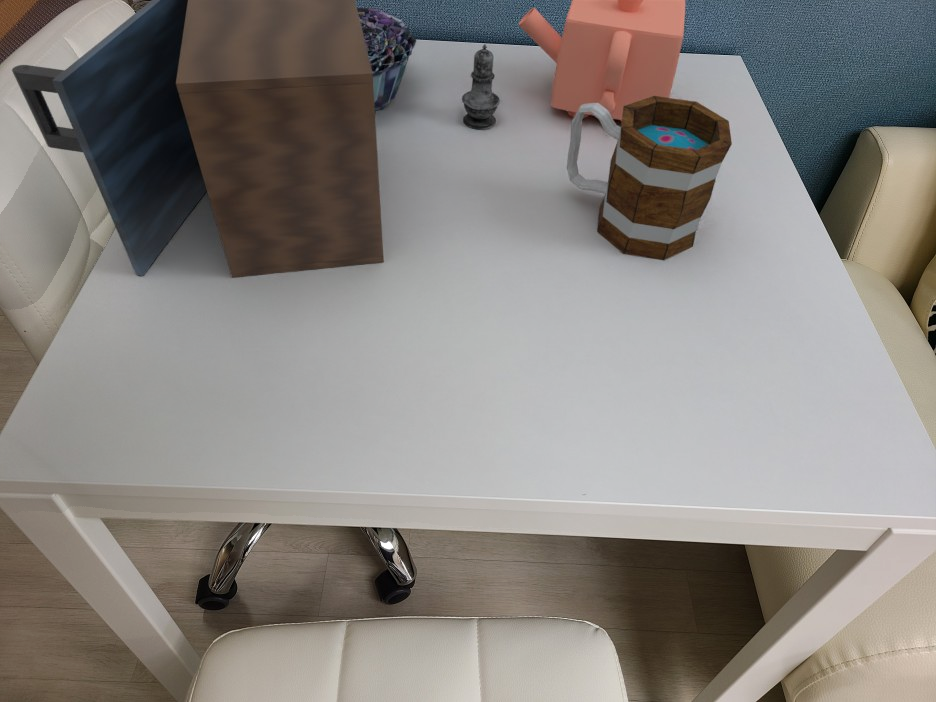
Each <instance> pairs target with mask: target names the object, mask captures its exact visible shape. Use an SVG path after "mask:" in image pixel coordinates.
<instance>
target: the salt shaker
mask: <svg viewBox="0 0 936 702" xmlns="http://www.w3.org/2000/svg"><path fill="white" fill-rule="evenodd" d="M487 48H488V46H487V45H486V44H485V43H484V44H483V46H482V47H481V49H479V50H477V51H476V52H475V53H474V55H473V71H472V72H471V73H470V78H471V79H472V82H471V89H470V91H469V90H468V91H466V92H465V93H464V94H463V95H462V96H461V102H462V103H463V107H464V111H465V112H466V114H464V115H463V117H462V122H463V124H464V125H465V126H466V127H467V128H470V129H473V130H477V131H478V130H479V131H483V130H484V131H485V130H490V129H492V128H493V127H495V126H496V124H497V118H496V116H494V114H495V113H496V111H497V110H498V106H499V105H500V103H501V99H500V97H499V96H498V94H496V93H494V92H493V80H494V79H495V76H496V75H495V73H494V72H493V70H494V58H495V57H494V53H493V52H492V51H491V50H489V49H487Z"/></svg>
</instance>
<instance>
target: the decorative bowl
mask: <svg viewBox="0 0 936 702" xmlns="http://www.w3.org/2000/svg"><path fill="white" fill-rule="evenodd" d="M357 11H358V15H359V19H360V23H361V27H362V32H363V36H364V40H365V44H366V48H367V52H368V56H369V60H370V65H371V69H372V73H373V89H374V105H375V111H380V110H381V111H382V110H383V109H385V108H386V107H388V106H389V103H390V101H392V100H393V99H395V98H396V96H397V92H398V90H399V88H400V85H401V82H402V79H403V76H404V74H405V70H406V67H407V64H408V61H409V58H410V56H412V55H413V49H414V48H415V46H416V43H417V39H416V37H415V36H414V35H413V34H412V33H411V31H410V28H409V27H408V26H407V25H406V24H405V23H404V21H403V20H402V19H400V18H397V17H396V16H393V15H392V14H387V13H385V12H384V11H382V10H379V9H374V8H373V9H372V8H369V7H357Z"/></svg>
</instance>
